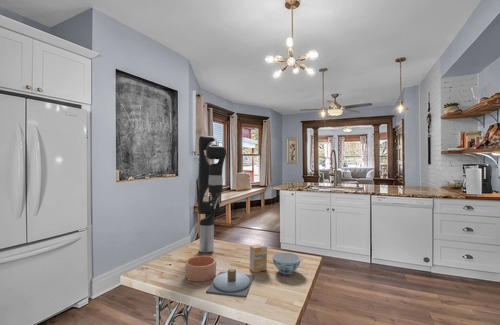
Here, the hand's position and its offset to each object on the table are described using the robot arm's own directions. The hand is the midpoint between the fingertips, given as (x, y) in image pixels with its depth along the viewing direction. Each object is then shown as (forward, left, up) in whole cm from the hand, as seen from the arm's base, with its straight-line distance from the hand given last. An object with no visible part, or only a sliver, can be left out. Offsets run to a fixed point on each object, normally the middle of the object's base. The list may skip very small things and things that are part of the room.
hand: (215, 214), depth 129 cm
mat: (+11, +13, -30) cm, 35 cm away
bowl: (+5, -5, -30) cm, 31 cm away
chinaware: (-8, +38, -31) cm, 49 cm away
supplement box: (-7, +23, -31) cm, 39 cm away
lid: (+11, +13, -30) cm, 34 cm away
